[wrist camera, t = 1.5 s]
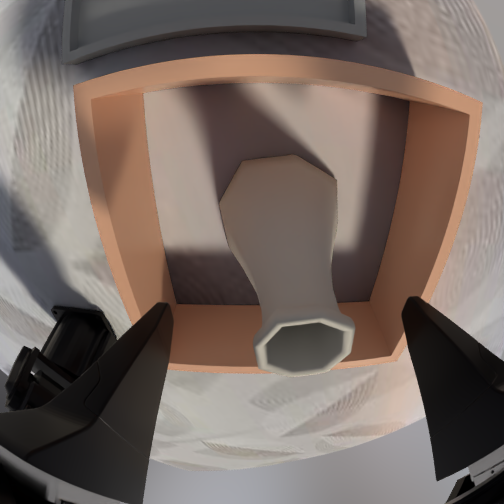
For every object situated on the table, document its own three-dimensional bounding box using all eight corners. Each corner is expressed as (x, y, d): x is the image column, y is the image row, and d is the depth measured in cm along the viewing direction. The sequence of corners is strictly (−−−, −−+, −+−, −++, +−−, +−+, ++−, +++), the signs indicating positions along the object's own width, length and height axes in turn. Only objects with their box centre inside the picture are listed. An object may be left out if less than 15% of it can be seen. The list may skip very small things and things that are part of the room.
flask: (228, 141, 14) (188, 227, 6) (353, 168, 15) (454, 272, 6) (212, 252, 18) (185, 392, 10) (319, 268, 19) (355, 401, 10)
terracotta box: (168, 310, 21) (152, 367, 16) (129, 82, 12) (73, 85, 7) (375, 307, 21) (396, 361, 16) (420, 91, 12) (482, 102, 7)
